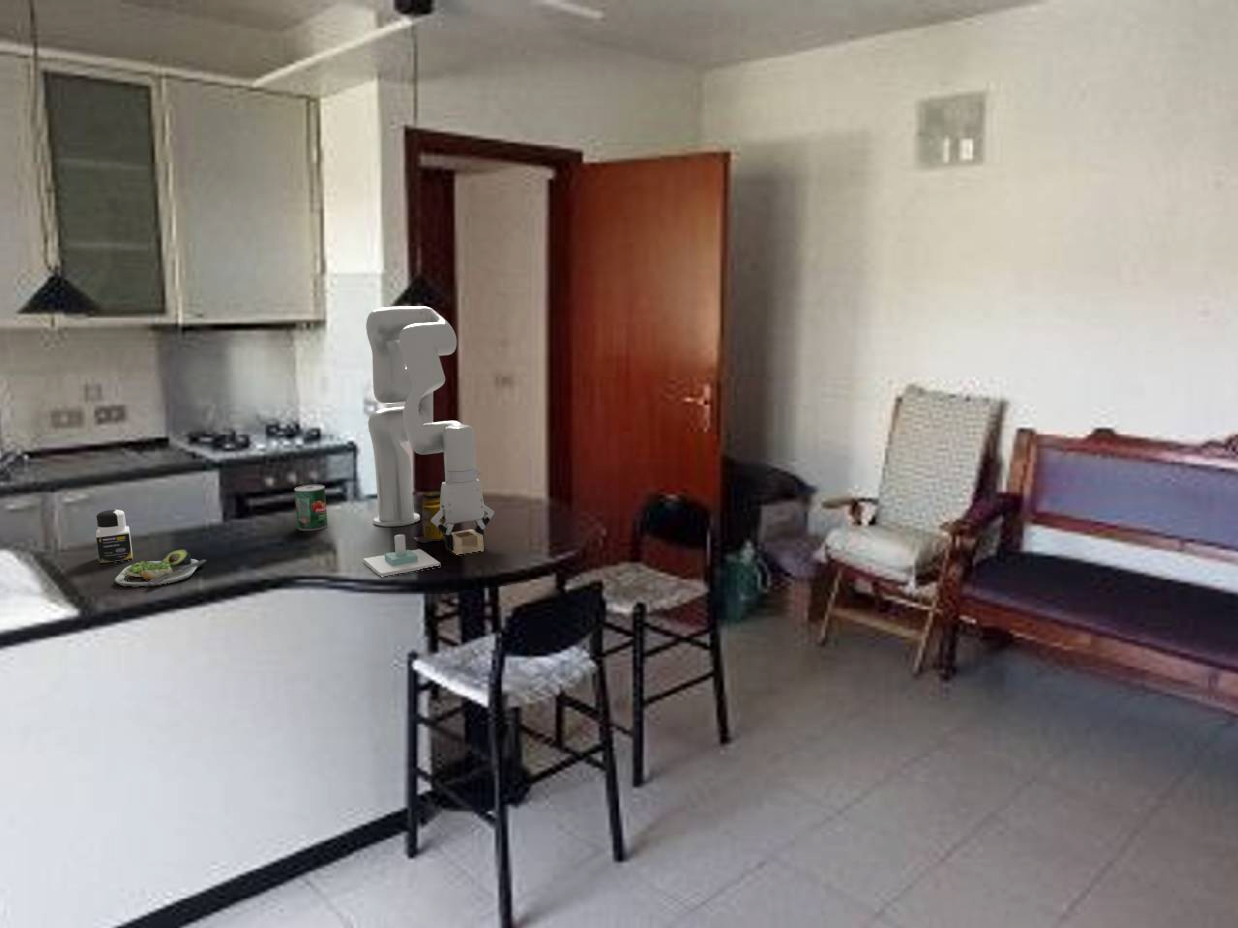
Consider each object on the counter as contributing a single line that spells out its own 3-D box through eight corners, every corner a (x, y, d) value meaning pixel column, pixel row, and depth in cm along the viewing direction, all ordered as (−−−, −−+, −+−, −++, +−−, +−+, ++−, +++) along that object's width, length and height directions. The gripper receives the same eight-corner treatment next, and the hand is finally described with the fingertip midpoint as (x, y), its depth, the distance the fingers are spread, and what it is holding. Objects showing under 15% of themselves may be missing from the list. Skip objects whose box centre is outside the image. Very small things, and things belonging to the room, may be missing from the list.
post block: (363, 562, 223) (361, 534, 221) (420, 552, 230) (418, 525, 228) (381, 577, 211) (378, 547, 209) (440, 566, 218) (438, 537, 216)
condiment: (453, 539, 242) (450, 493, 239) (422, 544, 237) (419, 498, 235) (442, 533, 248) (439, 488, 245) (411, 538, 243) (408, 493, 241)
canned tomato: (327, 529, 254) (323, 489, 252) (296, 531, 252) (292, 491, 250) (328, 522, 262) (325, 483, 260) (299, 524, 260) (295, 485, 258)
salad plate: (190, 588, 207) (188, 568, 207) (103, 595, 204) (100, 575, 203) (210, 563, 226) (208, 545, 225) (130, 569, 223) (128, 550, 222)
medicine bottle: (99, 564, 226) (93, 516, 224) (100, 557, 232) (93, 510, 230) (132, 560, 229) (126, 512, 227) (132, 553, 235) (126, 506, 233)
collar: (446, 549, 232) (445, 533, 232) (472, 544, 236) (472, 529, 235) (456, 555, 226) (455, 539, 226) (483, 551, 230) (482, 535, 229)
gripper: (487, 469, 235) (491, 537, 239) (421, 477, 226) (425, 549, 230) (500, 474, 229) (503, 544, 232) (431, 483, 220) (436, 556, 223)
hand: (464, 546), depth 231 cm, fingers closed on collar, 7 cm apart
